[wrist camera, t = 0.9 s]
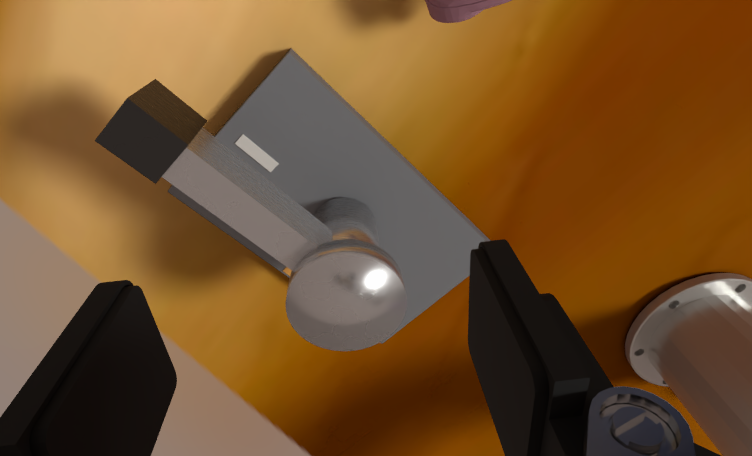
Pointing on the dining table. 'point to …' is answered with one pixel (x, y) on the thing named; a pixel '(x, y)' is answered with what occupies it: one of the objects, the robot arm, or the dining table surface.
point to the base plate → (347, 178)
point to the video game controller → (458, 9)
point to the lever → (270, 222)
